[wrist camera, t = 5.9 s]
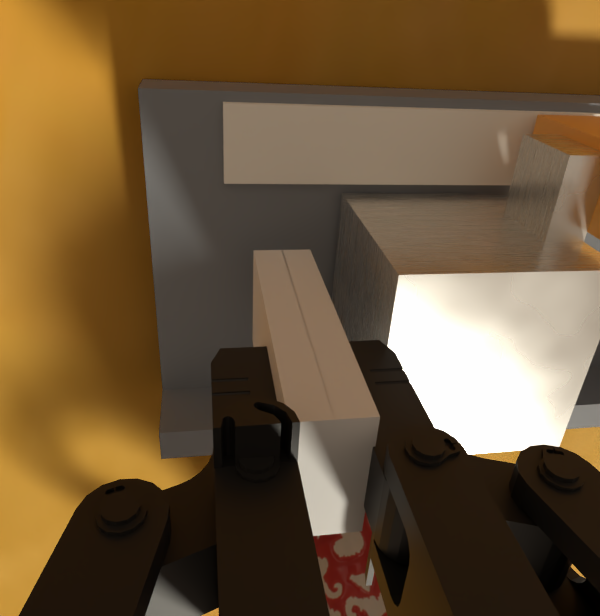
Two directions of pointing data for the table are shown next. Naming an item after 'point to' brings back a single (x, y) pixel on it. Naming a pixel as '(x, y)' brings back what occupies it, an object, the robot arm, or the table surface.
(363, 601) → the mug
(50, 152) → the table surface
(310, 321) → the robot arm
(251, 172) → the bench
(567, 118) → the tangerine cube
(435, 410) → the grey block with bar
